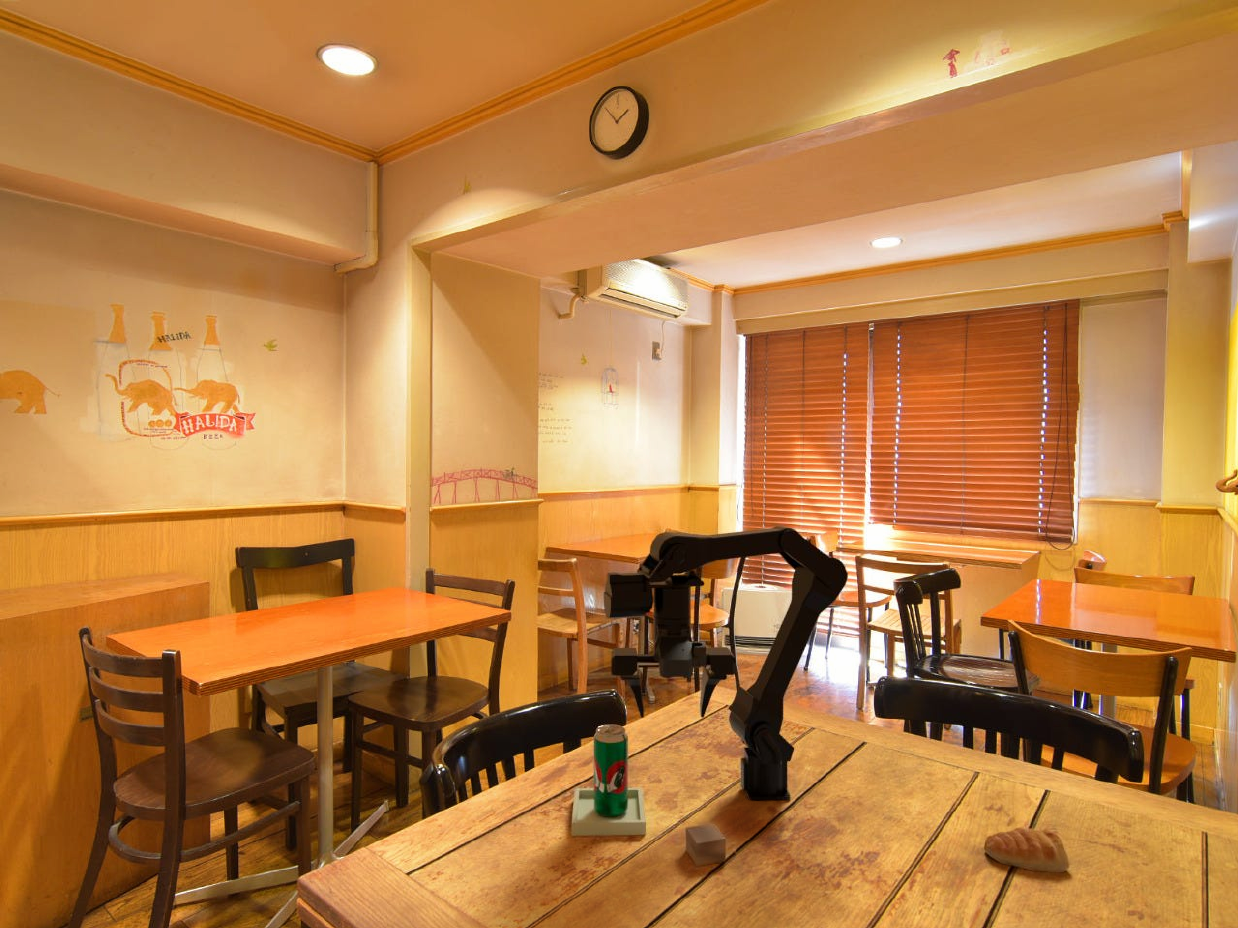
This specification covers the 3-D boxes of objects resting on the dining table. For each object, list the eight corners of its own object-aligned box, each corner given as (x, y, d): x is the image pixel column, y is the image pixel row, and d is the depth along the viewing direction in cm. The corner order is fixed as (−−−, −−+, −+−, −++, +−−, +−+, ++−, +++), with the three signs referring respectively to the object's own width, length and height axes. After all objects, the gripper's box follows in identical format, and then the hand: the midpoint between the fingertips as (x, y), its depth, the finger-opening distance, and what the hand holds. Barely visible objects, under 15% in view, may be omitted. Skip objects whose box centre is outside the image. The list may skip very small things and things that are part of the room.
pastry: (997, 872, 91) (997, 842, 91) (975, 844, 97) (974, 816, 97) (1074, 875, 90) (1074, 845, 90) (1046, 847, 97) (1046, 819, 97)
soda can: (632, 805, 106) (632, 725, 106) (620, 821, 101) (620, 738, 101) (601, 799, 108) (601, 721, 108) (588, 815, 103) (587, 733, 103)
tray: (642, 799, 110) (642, 787, 110) (646, 834, 99) (646, 822, 99) (575, 799, 110) (575, 788, 110) (571, 835, 99) (571, 822, 99)
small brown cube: (713, 845, 97) (713, 823, 97) (725, 861, 93) (725, 838, 93) (685, 849, 96) (685, 827, 96) (697, 866, 92) (697, 843, 92)
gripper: (611, 628, 101) (611, 738, 101) (742, 627, 101) (742, 737, 101) (611, 611, 112) (611, 710, 112) (729, 610, 112) (729, 709, 112)
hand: (672, 716), depth 109 cm, fingers open, 9 cm apart
